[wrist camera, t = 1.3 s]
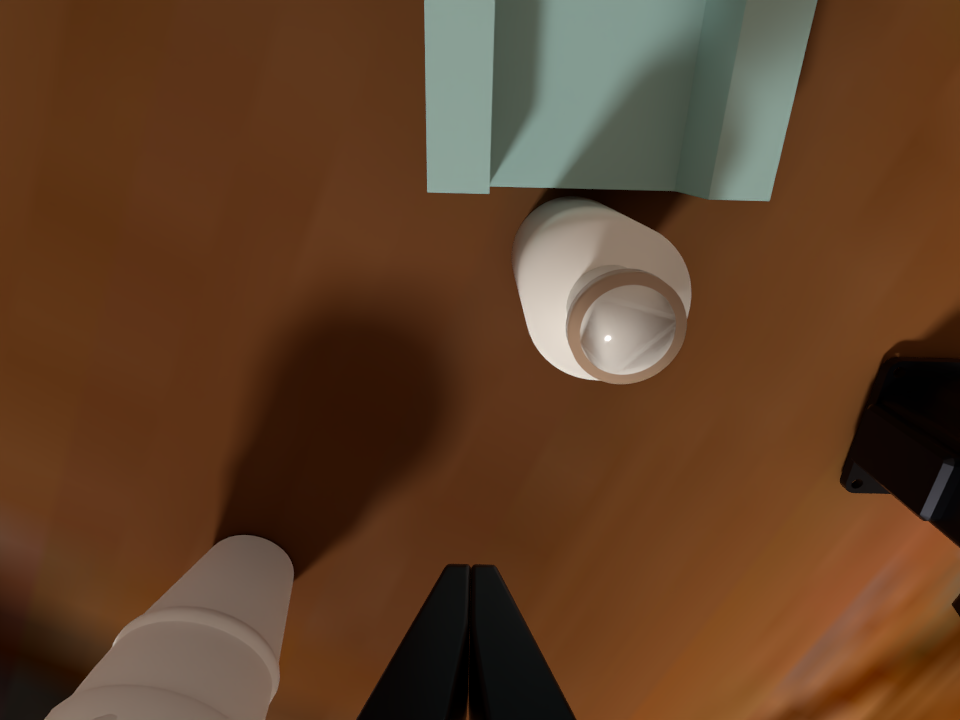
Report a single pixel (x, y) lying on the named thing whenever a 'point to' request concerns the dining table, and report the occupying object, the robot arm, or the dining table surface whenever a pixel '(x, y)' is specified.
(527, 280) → the bottle
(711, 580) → the dining table surface
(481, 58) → the teal rectangular tray
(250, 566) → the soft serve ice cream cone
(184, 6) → the dining table surface
